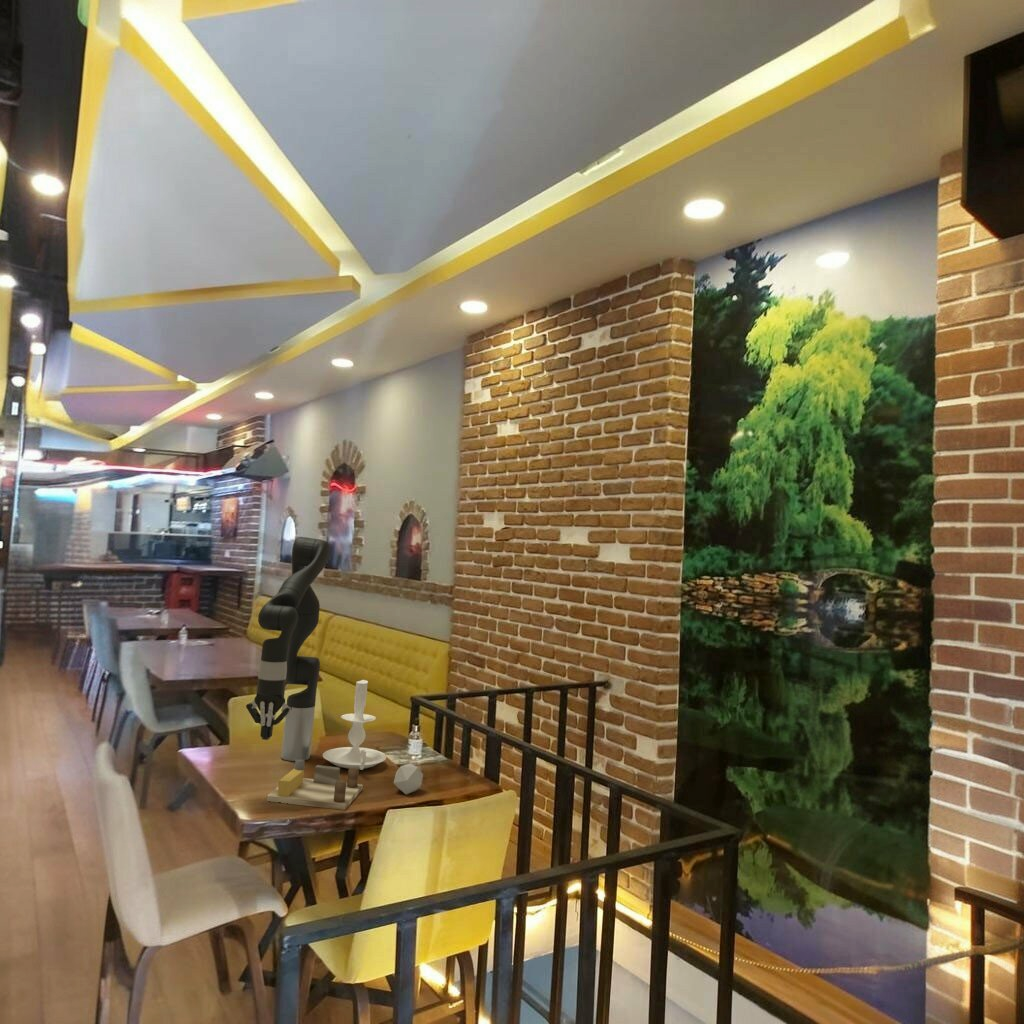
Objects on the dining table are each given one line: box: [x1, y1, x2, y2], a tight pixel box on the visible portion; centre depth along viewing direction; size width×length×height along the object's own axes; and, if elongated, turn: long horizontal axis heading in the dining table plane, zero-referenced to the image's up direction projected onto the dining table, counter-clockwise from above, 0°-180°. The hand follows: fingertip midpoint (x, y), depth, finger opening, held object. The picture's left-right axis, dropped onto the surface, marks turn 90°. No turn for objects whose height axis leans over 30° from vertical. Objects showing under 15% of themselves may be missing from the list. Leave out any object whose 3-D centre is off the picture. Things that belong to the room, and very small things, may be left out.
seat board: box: [266, 764, 364, 811], centre depth 216 cm, size 18×22×6 cm
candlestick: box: [322, 679, 387, 771], centre depth 246 cm, size 21×25×28 cm
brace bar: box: [277, 759, 306, 796], centre depth 215 cm, size 13×3×6 cm, turn 176°
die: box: [393, 762, 424, 796], centre depth 226 cm, size 8×9×10 cm
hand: (265, 739), depth 211 cm, fingers closed
